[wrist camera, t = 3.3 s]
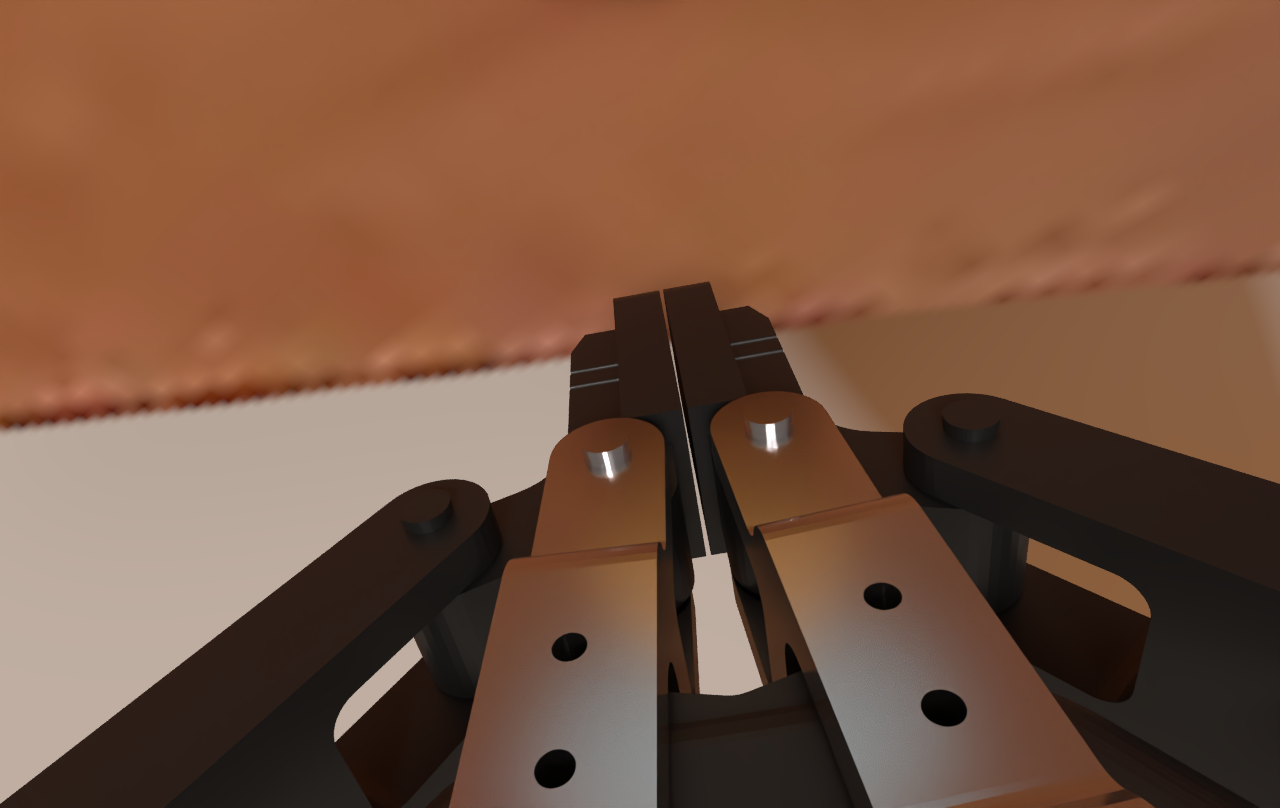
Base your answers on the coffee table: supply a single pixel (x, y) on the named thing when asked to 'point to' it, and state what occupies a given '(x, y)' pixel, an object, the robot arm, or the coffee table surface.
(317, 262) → the coffee table surface
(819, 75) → the coffee table surface
